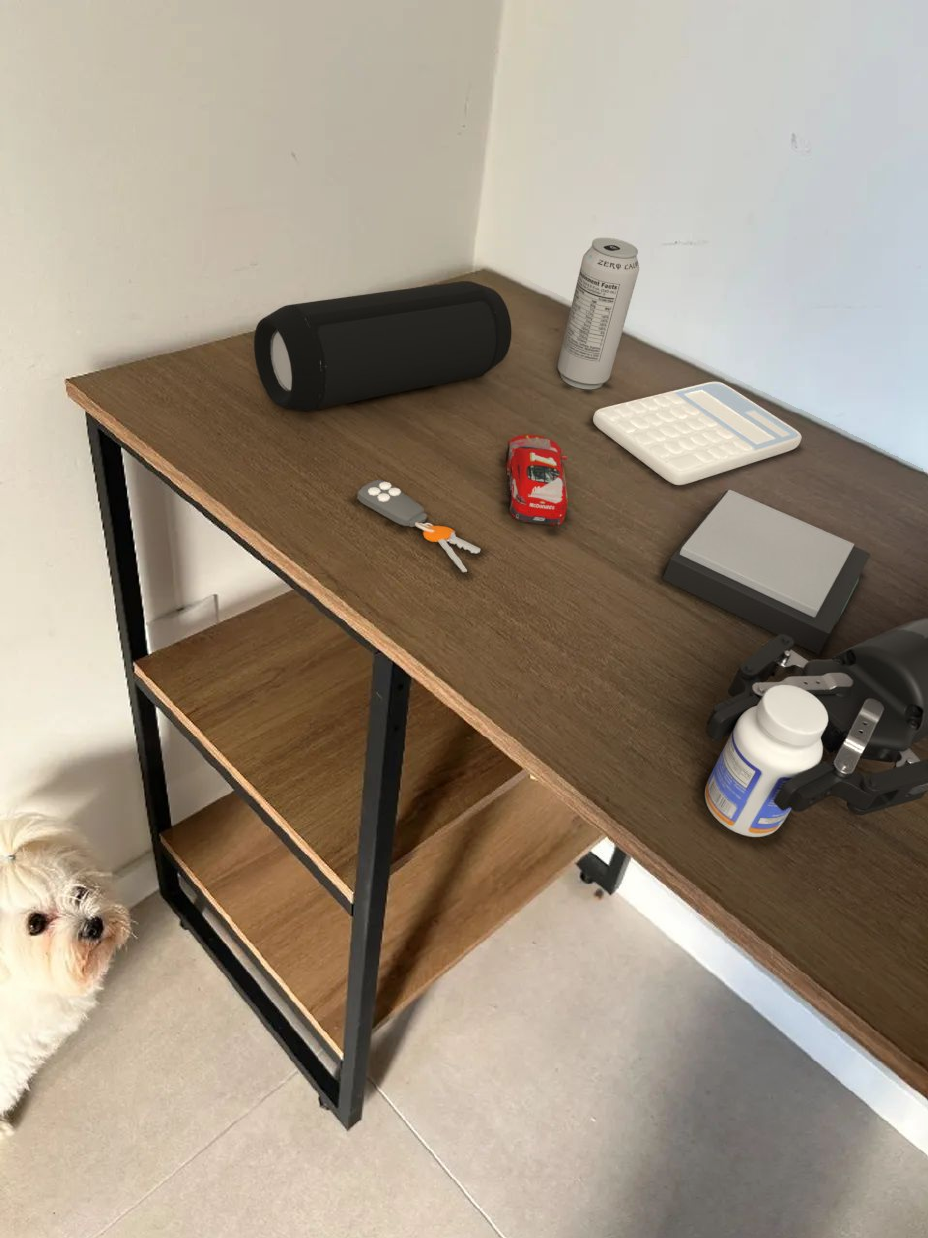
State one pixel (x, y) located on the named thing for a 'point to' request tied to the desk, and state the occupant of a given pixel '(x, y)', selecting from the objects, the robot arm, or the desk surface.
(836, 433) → the desk surface
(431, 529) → the key chain
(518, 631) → the desk surface
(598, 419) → the calculator
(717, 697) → the desk surface
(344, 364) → the portable speaker
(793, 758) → the pill bottle
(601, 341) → the energy drink can
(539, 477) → the race car
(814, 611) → the scale
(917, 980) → the desk surface
